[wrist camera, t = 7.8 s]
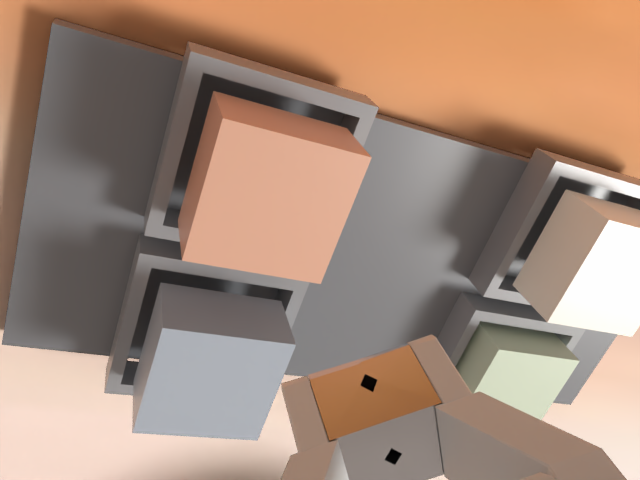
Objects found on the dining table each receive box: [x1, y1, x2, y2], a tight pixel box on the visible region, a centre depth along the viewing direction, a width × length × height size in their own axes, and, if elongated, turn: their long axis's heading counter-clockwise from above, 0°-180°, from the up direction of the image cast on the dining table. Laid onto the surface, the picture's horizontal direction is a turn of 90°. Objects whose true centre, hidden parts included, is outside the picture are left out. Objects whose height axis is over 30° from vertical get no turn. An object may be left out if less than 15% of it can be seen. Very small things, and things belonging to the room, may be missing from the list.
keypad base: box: [2, 18, 640, 405], centre depth 25 cm, size 13×28×2 cm, turn 70°
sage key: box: [455, 321, 580, 420], centre depth 28 cm, size 4×4×3 cm
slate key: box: [132, 283, 296, 440], centre depth 22 cm, size 4×4×3 cm
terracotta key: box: [178, 91, 372, 284], centre depth 19 cm, size 4×4×3 cm
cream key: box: [513, 189, 640, 337], centre depth 24 cm, size 4×4×3 cm
